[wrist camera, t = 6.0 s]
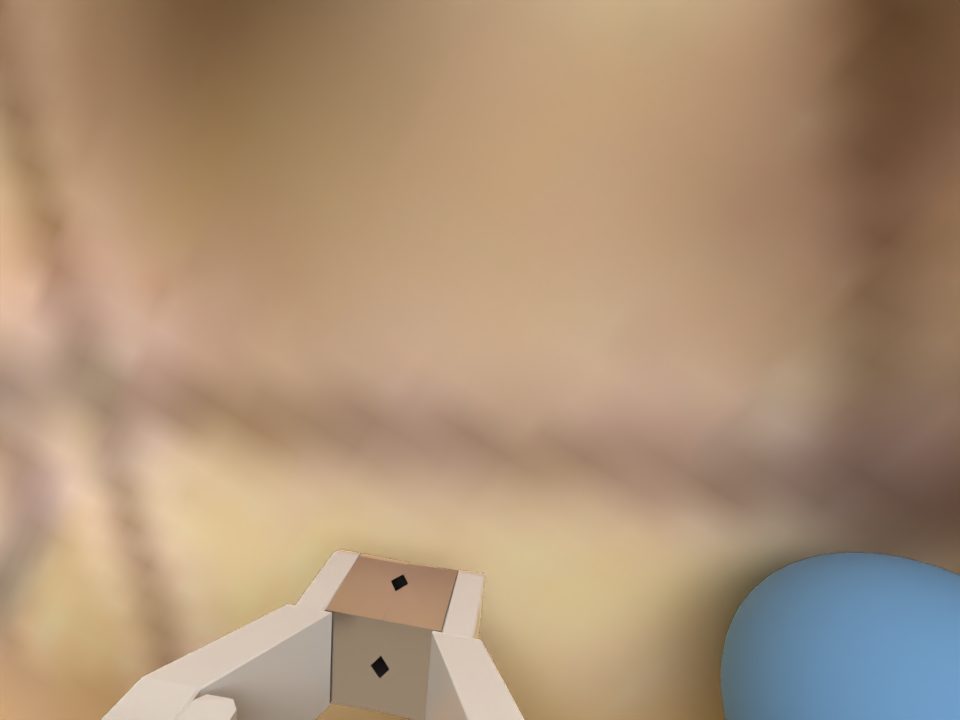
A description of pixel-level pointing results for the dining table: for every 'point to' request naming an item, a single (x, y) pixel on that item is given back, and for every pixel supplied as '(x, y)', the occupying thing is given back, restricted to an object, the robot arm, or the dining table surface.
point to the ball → (846, 642)
